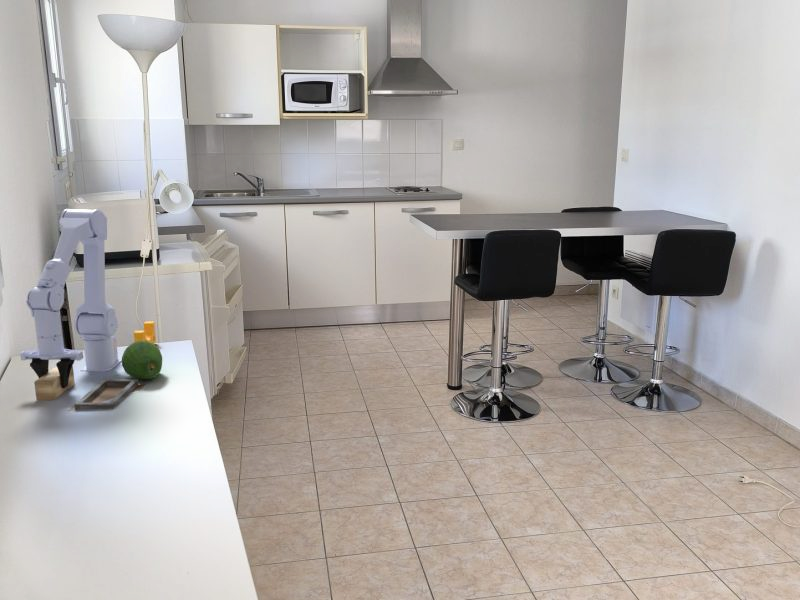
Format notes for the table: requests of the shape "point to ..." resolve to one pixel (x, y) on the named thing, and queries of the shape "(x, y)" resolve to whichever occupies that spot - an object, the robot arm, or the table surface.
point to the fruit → (142, 360)
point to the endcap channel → (107, 394)
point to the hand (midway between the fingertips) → (55, 386)
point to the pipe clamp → (146, 333)
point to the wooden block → (51, 385)
